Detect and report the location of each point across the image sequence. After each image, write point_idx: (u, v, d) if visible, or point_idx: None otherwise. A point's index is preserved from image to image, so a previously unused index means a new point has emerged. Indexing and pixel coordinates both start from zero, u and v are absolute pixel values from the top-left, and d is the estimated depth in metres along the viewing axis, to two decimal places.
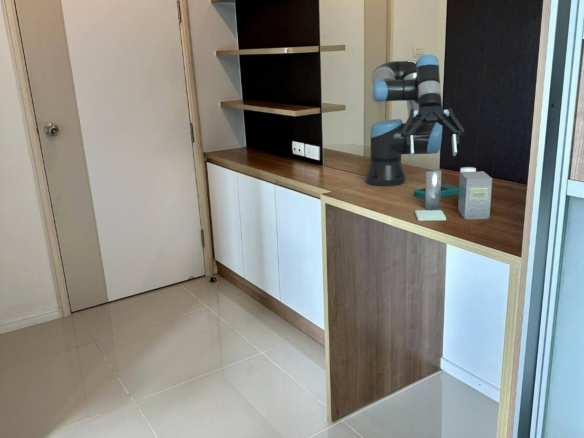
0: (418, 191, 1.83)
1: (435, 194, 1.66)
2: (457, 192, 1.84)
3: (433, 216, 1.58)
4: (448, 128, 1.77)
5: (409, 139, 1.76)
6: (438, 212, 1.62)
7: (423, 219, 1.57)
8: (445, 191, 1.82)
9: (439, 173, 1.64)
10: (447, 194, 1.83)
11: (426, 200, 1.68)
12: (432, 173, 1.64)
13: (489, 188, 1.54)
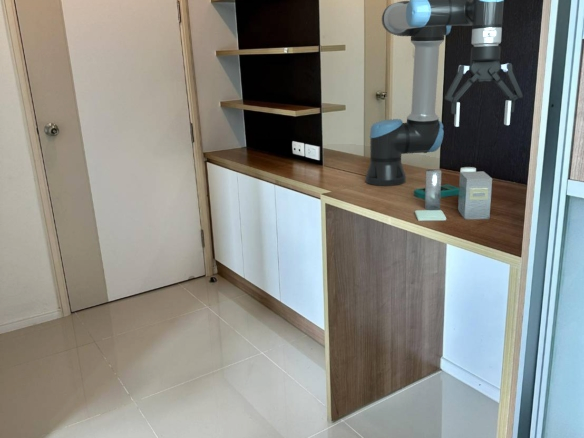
0: (418, 191, 1.83)
1: (435, 194, 1.66)
2: (457, 192, 1.84)
3: (433, 216, 1.58)
4: (503, 91, 1.47)
5: (455, 107, 1.49)
6: (438, 212, 1.62)
7: (423, 219, 1.57)
8: (445, 191, 1.82)
9: (439, 173, 1.64)
10: (447, 194, 1.83)
11: (426, 200, 1.68)
12: (432, 173, 1.64)
13: (489, 188, 1.54)
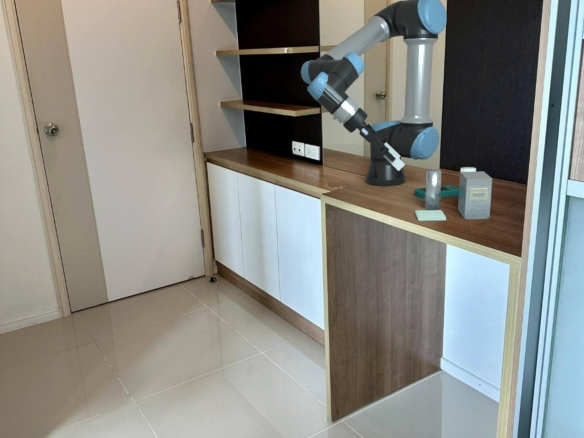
0: (417, 190, 1.84)
1: (435, 194, 1.66)
2: (458, 193, 1.83)
3: (433, 216, 1.58)
4: None
5: None
6: (438, 212, 1.62)
7: (423, 219, 1.57)
8: (444, 191, 1.82)
9: (439, 173, 1.64)
10: (447, 194, 1.82)
11: (426, 200, 1.68)
12: (432, 173, 1.64)
13: (489, 188, 1.54)
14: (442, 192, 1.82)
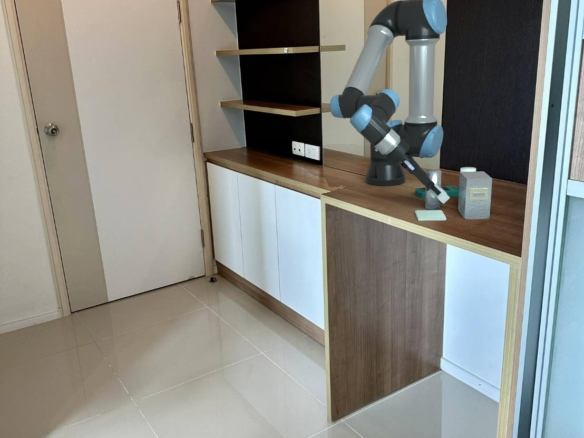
0: (417, 189, 1.85)
1: None
2: (458, 194, 1.82)
3: (433, 216, 1.58)
4: None
5: None
6: (438, 212, 1.62)
7: (423, 219, 1.57)
8: None
9: (439, 173, 1.64)
10: None
11: (426, 200, 1.68)
12: (432, 173, 1.64)
13: (489, 188, 1.54)
14: None
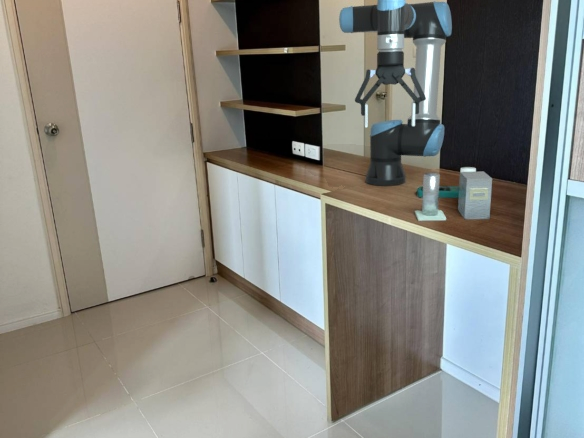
0: (418, 188, 1.87)
1: (432, 199, 1.57)
2: (457, 195, 1.80)
3: (433, 216, 1.58)
4: (408, 93, 1.55)
5: (363, 109, 1.57)
6: (438, 212, 1.62)
7: (423, 219, 1.57)
8: (442, 192, 1.81)
9: (437, 177, 1.56)
10: (444, 195, 1.81)
11: (423, 205, 1.59)
12: (430, 177, 1.55)
13: (489, 188, 1.54)
14: (439, 192, 1.82)
